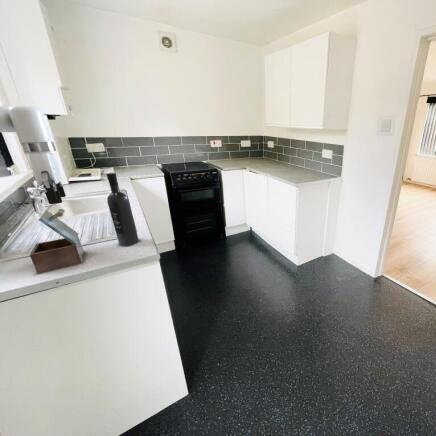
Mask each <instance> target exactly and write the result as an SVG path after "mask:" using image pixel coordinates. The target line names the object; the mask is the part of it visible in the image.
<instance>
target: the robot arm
mask: <svg viewBox="0 0 436 436" xmlns="http://www.w3.org/2000/svg"><path fill="white" fill-rule="evenodd" d="M0 133H16V136H17V139H18V141H19V143H20V146H21V148H22V151H23V154H24V155H28V160H29V163H30V166H31V169H32V172H33V176H34V178H35V179H34V180H35V181H36V185H37V186H40V187H43V190H44V194H45V197H46V199H47V202H48V204H49V205H57V204H61V203H63V199H62V198H66V197H67V196H66V195H67V194H66V192H65V189H64V186H63V185H62V182H61V180H62V177H61V174H60V170H59V166H58V164H57V161H56V159H55V156H54V153H55V154H56V153H57V152H58V151H57V149H56V146H55V142H54V141H53V137H52V133H51V130H50V128H49V125H48V122H47V119H46V116H45V114H44V111H43V110H42V108H40V107H38V106H33V105H11V106H5V105H4V106H3V105H0Z"/></svg>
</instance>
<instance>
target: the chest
mask: <svg viewBox="0 0 436 436" xmlns="http://www.w3.org/2000/svg"><path fill="white" fill-rule="evenodd" d="M84 252H85V251H84V249H83V246H82V243H81V240H80V237H79V236H78V238H77V242H76V244H75V245H74V244H72V243H71V242H69V241H68V240H67V239H65V238H64V237H62V238H59V239H53V240H48V241H43V242H38V243H35V245H34V247H33V248H32V250H31V252H30V254H29V257H30V260H31V262H32V264H33V267H34V269H35V271H36V273H37V274H38V275H40V274H43V273H44V274H45V273H48V272H52V271H55V270H59V269H63V268H68V267H72V266H75V265H80V264H83V259H84V254H85V253H84Z"/></svg>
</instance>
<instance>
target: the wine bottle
mask: <svg viewBox="0 0 436 436" xmlns="http://www.w3.org/2000/svg"><path fill="white" fill-rule="evenodd" d="M105 176H106V178H107V179H106V180H108V184H109V188H110V193H109V195H108V196H107V199H106V202H107V207H108V209H109V213H110V216H111V220H112V224H113V228H114V232H115V234H116V239H117V242H118V245H119V246H120V247H121V246H122V247H131V246H133V245H136V244H138V243H139V242H140V239H139V235H138V231H137V228H136V227H137V226H136V223H135V219H134V215H133V211H132V207H131V203H130V200H129V197H128V196H127V194H125V192H122V191H121V190H120V185H119V181H118V177H117V174H116V173H115V172H110V173H106V175H105Z"/></svg>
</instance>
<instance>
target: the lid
mask: <svg viewBox="0 0 436 436" xmlns="http://www.w3.org/2000/svg"><path fill="white" fill-rule="evenodd" d="M65 211H66V210H65V209H63V208H59V209H58V210H57V212H56V213H54V214H53V213H51V212H50V211H48V210H47V209H46V210H44V212H43V213H42V214H41V216H40V217H39V218H38V221H39V222H40V223H42V224H43V225H45V226H46V227H48V228H49V229H51V230H52V231H54V232H55V233H57V234H58V235H59V236H61V237H62V238H65V239H67V240H68V241H69V242H71V243H72V244H74V245H75V244H76V242H77V238H78V237H79V233H78V232H77V231H76V230H75V229H73V228H72V227H70V226H69V225H67V224H66V222H65V223H64V221H62V220H61V219H60V217H63V216H64V214H65Z"/></svg>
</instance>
